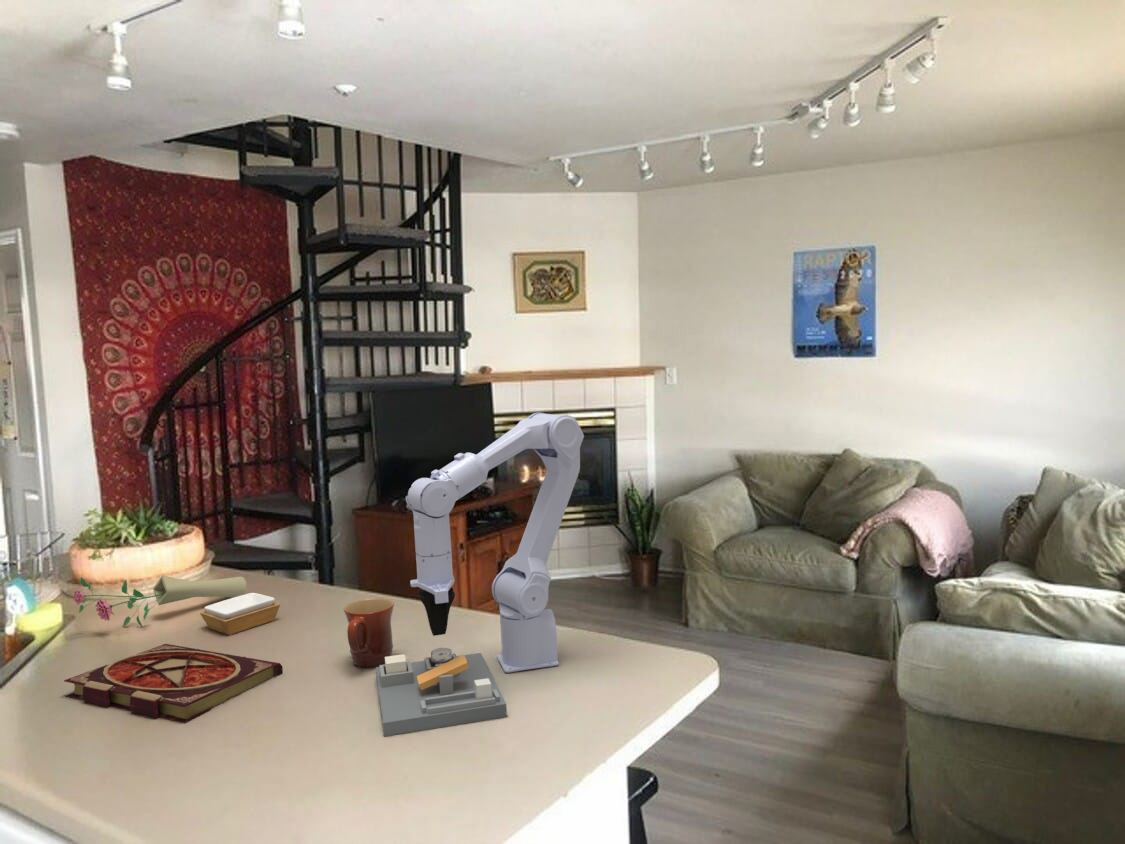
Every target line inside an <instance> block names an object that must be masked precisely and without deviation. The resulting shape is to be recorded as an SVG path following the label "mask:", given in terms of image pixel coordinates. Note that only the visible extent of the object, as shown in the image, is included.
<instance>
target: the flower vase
mask: <svg viewBox="0 0 1125 844" xmlns="http://www.w3.org/2000/svg"><path fill="white" fill-rule="evenodd" d="M79 582H80V584H81V586H83V587H85V588H86V587H88V590H90V591H91V592H92V594H89V595H86V594H85V593H84V592H83V591H82V590H80V589H76V590H74V593H73V600H74V603H75V604H76V605H77V606H79V605H80V606H79V611H78V613H82V612H83V610H84V608H86V607H88V606H90V605H92V604H93V603H95V602H96V601H97V602H96V604H95V607H96V609H95V611H96V612H98V613H97V616H98V617H100V618H99V619H101V620H104V621H105V622H106V621H107V622H109V621H110V620H111V618H110V616H111V614H112V615H114V613H113V609H112V608H113V607H115V606H119V605H123V604H127V608H128V609H129V610H132V609H133V607H134V603H135V602H136V601H139V600H143V601H142V602H141V603H140V605H139V606H137V609H136V611H135V612H134V614H133V615H132V616H131V617H130V616H129V615H128V616H126V618H125V619H124V621H123V625H122V627H124V628H125V627H126V626H127V625H128V624H129V622H130V621H131V619H132V618H133V617H134V616H135V614H136V612H138V615H137V616H136V621H137V624H138V625H139V626H140V627H141V628H143V625H142V623H141V621H140V616H139V615H140V613H139V611H138V609H139V608H140V606H141V605H142V604H143V603H144V602H145V601H146V600H147V599H150V598H155V599H156V600H153V601H151V602H147V603H146V605H145V606H144V608H143V610H144V614H143V621H145V620H146V618H147V616H148V614H149V611H150V610H151V609H152V608H154V607H155V605H156V604H154V605H153V606H152V607H150V608H148V607H149V605H150V604H152V603H157V604H158V606H162V605H167V604H170V603H175V602H178V601H183V600H188V599H192V598H200V597H201V598H204V597H205V598H206V597H207V598H209V597H210V598H212V597H214V598H228V599H231V598H234V597H238V596H241V595H245V594H247V593H246V592H247V586H248V585H247V580H246V578H244V577H243V576H234V577H227V578H220V579H219V578H217V579H208V580H187V579H182V578H177V577H171V576H167V575H161V577H160V578H159V579H158V581H157V582H156V583H155V585H154V586H153V587H152V590H153V593H154V595H148V596H145V595H144V593H143V592H141V591H140V590H137V589H136V588H134V589H133V590H132V595H130V594H129V592H128V582H127V579H125V580H124V582H123V584H122V586H121V593H123V594H124V595H114V594H113V595H112V594H111V595H110V594H94V592H93V586H92V584H91V582H90V581H88V583H87V581H86V580H85V579H84V578H83V577H82V576H80V581H79ZM87 597H99V598H97V599H96V600H93V601H91V603H89V604H86V605H85V606H84V605H83V604H85V603H86V602H88V600H87V599H88V598H87ZM102 597H117V598H128V600H127V601H126V600H125V601H121V602H118V603H115V604H113V605H112V604H110V603H109V602H108V601H107V600H106V599H105V601H104V600H103V599H101V598H102Z"/></svg>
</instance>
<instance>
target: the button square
mask: <svg viewBox="0 0 1125 844" xmlns="http://www.w3.org/2000/svg"><path fill="white" fill-rule="evenodd" d="M406 661H407V659H406V655H405V654H398V655H397V654H396V655H392V656H388V657H385V664H384V665H385V668H386V674H393V673H400V672H407V667H406Z"/></svg>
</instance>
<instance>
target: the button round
mask: <svg viewBox="0 0 1125 844" xmlns="http://www.w3.org/2000/svg"><path fill="white" fill-rule="evenodd" d="M452 654H453V651H452V649H451V648H448V647H439V648H435V649H432V650H431V651H430V657H431V664H432V665H434V666H435V664H442V663H447V662H449V661H451V660H452Z"/></svg>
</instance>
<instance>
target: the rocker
mask: <svg viewBox="0 0 1125 844" xmlns="http://www.w3.org/2000/svg"><path fill="white" fill-rule="evenodd" d="M461 655H462V654H461ZM461 655H459V656H460V657H458V658H455V659H453V660H451V661H449V662H447V663H444V664H442V665H440V666H438V667H436V668H433V669H431V670H429V671H427V672H425V673H422V674H420V675H418V676H417V679H418V683H419V686H420V689H421V690H423V689H425V688H427V687H430V686H432V685H434V684H436V683H438V682H439V676H442V675H449V674H452V675H456V674H458V673H460V672H462V671H464V670H466V669H469V665H468V663H467V661H466V658H465V656H464V655H465V654H463V655H462V656H461Z"/></svg>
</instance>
